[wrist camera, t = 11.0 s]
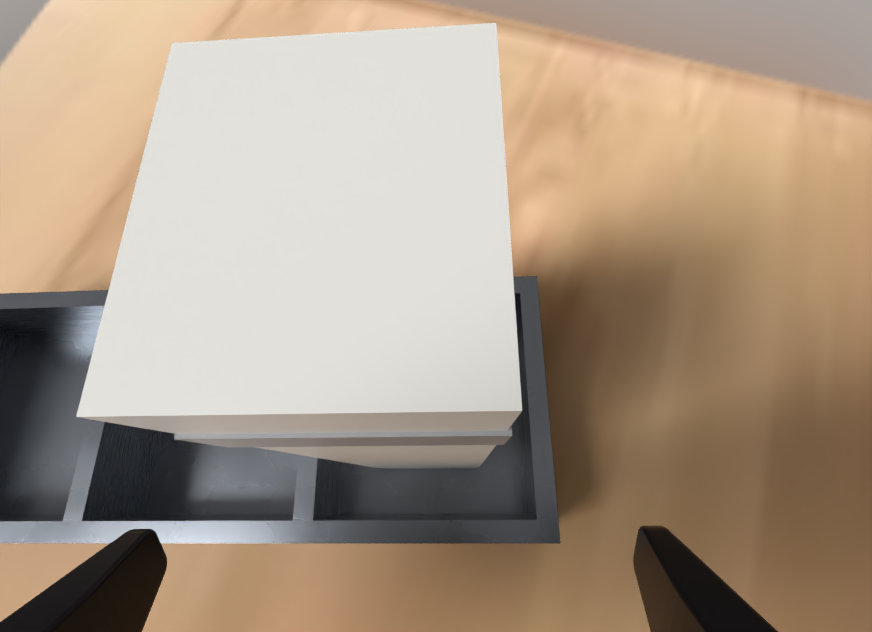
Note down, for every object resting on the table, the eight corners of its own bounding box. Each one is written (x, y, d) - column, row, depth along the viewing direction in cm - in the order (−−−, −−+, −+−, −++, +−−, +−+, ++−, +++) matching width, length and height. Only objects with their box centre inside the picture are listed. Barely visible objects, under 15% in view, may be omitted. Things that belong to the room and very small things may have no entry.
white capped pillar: (480, 469, 17) (529, 418, 3) (380, 470, 17) (69, 422, 4) (476, 358, 18) (500, 19, 5) (384, 360, 18) (169, 40, 5)
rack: (523, 303, 19) (535, 265, 16) (540, 530, 16) (560, 543, 13) (25, 318, 21) (-63, 286, 17) (-42, 531, 18) (-163, 543, 14)
